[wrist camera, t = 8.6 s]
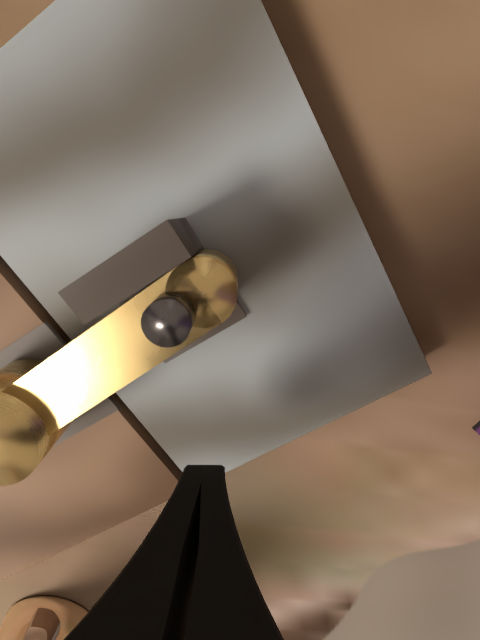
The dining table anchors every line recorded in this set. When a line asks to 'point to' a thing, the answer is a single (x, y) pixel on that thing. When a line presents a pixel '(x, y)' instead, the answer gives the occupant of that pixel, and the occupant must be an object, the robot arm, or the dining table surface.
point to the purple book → (477, 427)
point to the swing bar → (109, 357)
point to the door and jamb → (177, 251)
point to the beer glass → (41, 619)
